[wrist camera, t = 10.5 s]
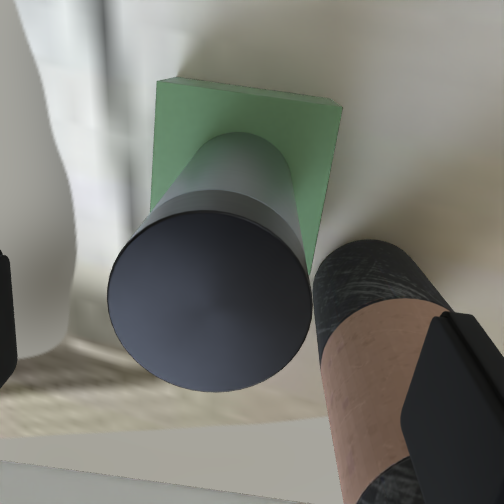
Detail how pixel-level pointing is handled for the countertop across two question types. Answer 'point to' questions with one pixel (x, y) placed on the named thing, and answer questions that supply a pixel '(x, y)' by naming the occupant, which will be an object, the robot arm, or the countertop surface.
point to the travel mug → (372, 363)
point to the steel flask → (216, 272)
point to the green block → (249, 121)
